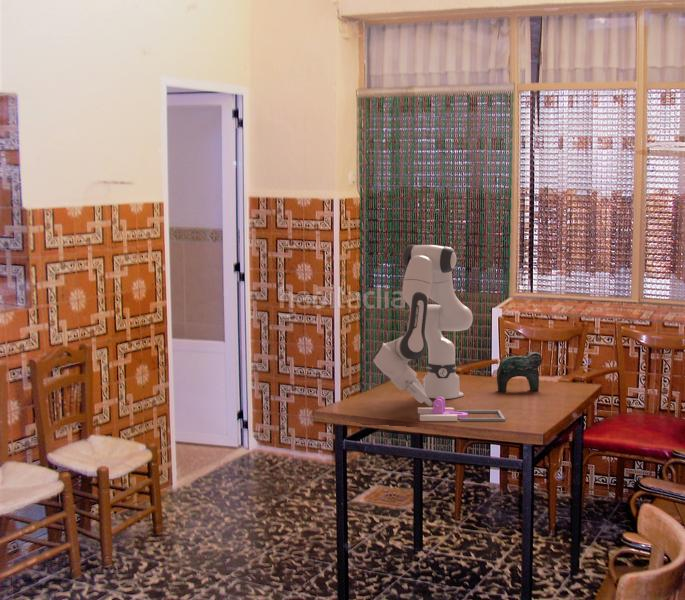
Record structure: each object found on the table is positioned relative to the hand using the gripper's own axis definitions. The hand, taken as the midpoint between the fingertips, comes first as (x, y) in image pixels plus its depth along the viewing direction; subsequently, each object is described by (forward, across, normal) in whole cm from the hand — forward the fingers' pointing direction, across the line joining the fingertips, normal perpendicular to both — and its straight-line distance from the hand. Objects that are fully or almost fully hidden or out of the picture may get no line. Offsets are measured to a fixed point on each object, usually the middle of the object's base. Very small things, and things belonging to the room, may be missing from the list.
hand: (431, 404), depth 376 cm
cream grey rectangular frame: (+11, 0, -5) cm, 12 cm away
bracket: (+9, 0, -2) cm, 9 cm away
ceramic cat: (+33, +52, -26) cm, 67 cm away
